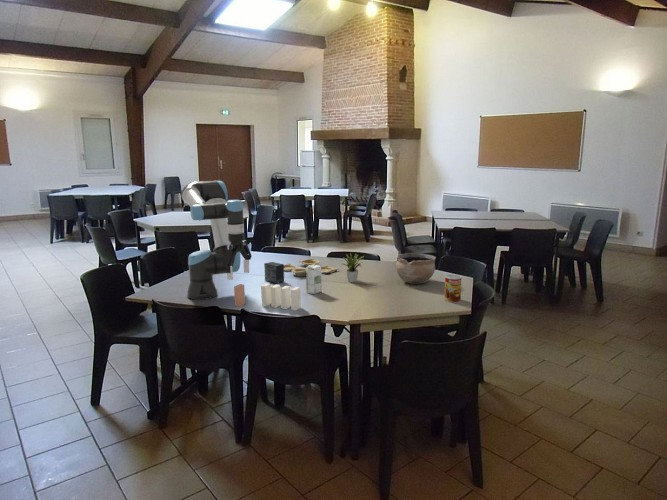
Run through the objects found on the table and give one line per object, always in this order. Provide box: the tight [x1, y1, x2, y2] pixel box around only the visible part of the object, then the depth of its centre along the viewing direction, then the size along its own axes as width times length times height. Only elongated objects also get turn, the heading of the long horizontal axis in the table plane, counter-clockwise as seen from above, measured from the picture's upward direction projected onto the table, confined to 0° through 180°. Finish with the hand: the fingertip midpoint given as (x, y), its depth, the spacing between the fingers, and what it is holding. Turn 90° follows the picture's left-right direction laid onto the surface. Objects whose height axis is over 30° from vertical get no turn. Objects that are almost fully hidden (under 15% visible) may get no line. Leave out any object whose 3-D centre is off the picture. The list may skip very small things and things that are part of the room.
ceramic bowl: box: [395, 252, 437, 285], centre depth 278 cm, size 22×22×15 cm
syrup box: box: [305, 264, 322, 295], centre depth 262 cm, size 6×6×14 cm
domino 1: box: [233, 283, 246, 307], centre depth 243 cm, size 2×5×10 cm, turn 155°
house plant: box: [341, 252, 365, 283], centre depth 281 cm, size 14×14×16 cm
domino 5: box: [290, 286, 302, 311], centre depth 237 cm, size 2×5×10 cm, turn 155°
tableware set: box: [284, 257, 339, 277], centre depth 310 cm, size 35×29×4 cm
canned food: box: [444, 274, 462, 303], centre depth 246 cm, size 8×8×12 cm
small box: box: [263, 261, 285, 285], centre depth 285 cm, size 11×6×10 cm, turn 47°
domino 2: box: [260, 282, 272, 307], centre depth 244 cm, size 2×5×10 cm, turn 155°
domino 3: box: [270, 284, 282, 309], centre depth 241 cm, size 2×5×10 cm, turn 155°
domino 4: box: [280, 285, 291, 310], centre depth 239 cm, size 2×5×10 cm, turn 155°
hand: (238, 276), depth 241 cm, fingers open, 13 cm apart
